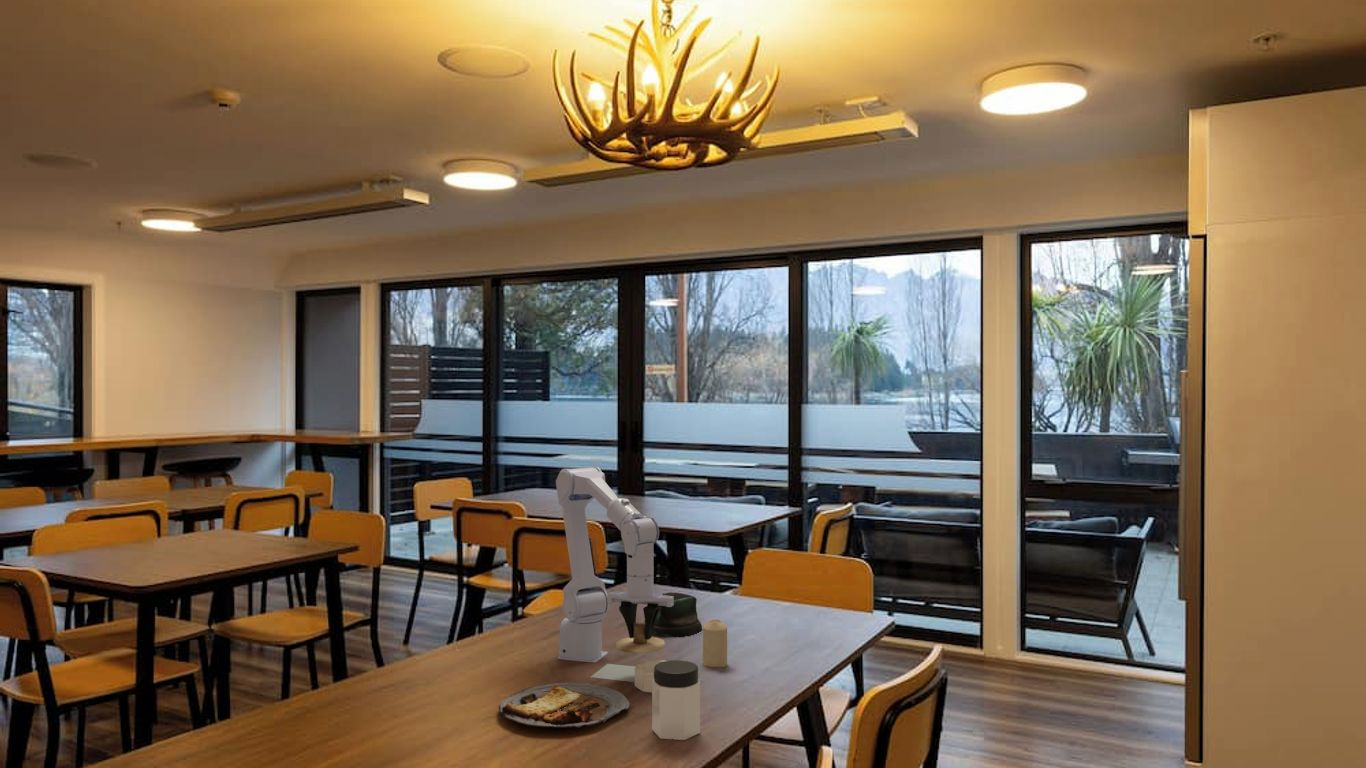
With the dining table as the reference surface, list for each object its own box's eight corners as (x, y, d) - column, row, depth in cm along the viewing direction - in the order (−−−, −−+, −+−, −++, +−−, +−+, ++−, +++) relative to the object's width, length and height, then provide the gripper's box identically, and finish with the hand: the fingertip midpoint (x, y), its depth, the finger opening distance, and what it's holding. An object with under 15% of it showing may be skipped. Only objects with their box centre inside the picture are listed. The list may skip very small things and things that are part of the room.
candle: (725, 669, 207) (725, 624, 207) (700, 667, 208) (700, 623, 208) (728, 662, 213) (728, 618, 213) (705, 660, 214) (705, 617, 214)
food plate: (569, 746, 163) (569, 725, 163) (473, 721, 176) (473, 702, 176) (648, 707, 185) (649, 690, 185) (558, 688, 197) (558, 671, 197)
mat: (590, 678, 200) (590, 677, 200) (607, 665, 210) (607, 663, 210) (633, 683, 197) (633, 681, 197) (649, 669, 207) (649, 667, 207)
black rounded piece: (672, 645, 227) (672, 607, 227) (617, 630, 240) (617, 594, 240) (725, 630, 241) (725, 594, 241) (670, 616, 255) (670, 583, 255)
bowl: (629, 691, 192) (629, 672, 192) (645, 676, 202) (645, 658, 202) (675, 696, 189) (675, 677, 189) (689, 681, 199) (689, 662, 199)
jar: (674, 719, 176) (675, 656, 176) (708, 730, 171) (708, 665, 171) (642, 733, 169) (643, 667, 169) (676, 744, 164) (677, 677, 164)
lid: (609, 650, 196) (609, 628, 196) (625, 638, 206) (625, 616, 206) (656, 654, 193) (656, 631, 193) (670, 641, 203) (670, 619, 203)
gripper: (601, 576, 198) (602, 639, 198) (666, 580, 193) (666, 645, 193) (614, 569, 204) (614, 631, 204) (676, 573, 200) (676, 636, 200)
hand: (640, 637), depth 199 cm, fingers closed on lid, 3 cm apart
